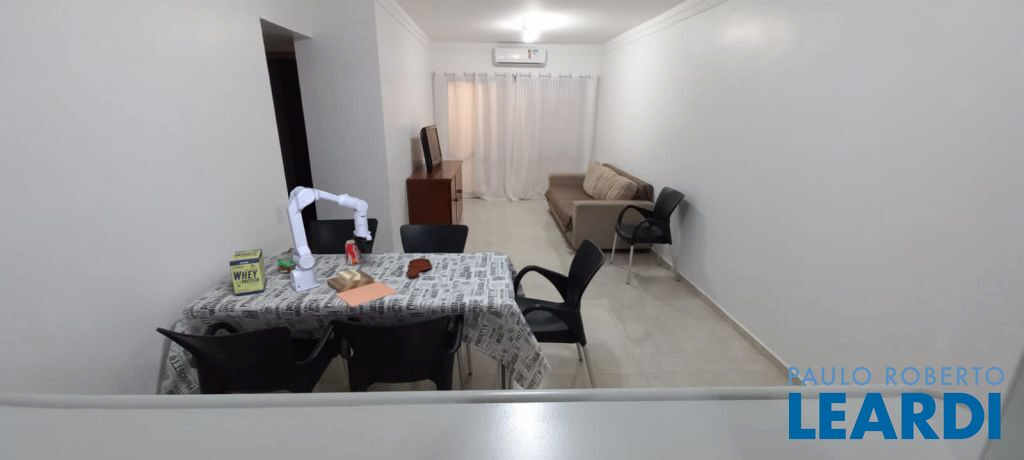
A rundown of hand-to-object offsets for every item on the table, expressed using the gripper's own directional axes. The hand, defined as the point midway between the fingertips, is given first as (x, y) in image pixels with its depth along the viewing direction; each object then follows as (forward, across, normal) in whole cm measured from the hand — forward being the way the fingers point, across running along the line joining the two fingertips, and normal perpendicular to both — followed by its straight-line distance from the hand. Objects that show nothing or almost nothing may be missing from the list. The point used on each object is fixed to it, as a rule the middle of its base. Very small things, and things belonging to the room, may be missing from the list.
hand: (363, 251), depth 199 cm
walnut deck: (+10, -11, +12) cm, 19 cm away
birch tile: (+8, -10, +12) cm, 18 cm away
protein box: (+10, +15, +45) cm, 49 cm away
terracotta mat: (+10, -26, +12) cm, 30 cm away
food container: (+10, +26, +25) cm, 38 cm away
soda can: (+10, +14, -1) cm, 17 cm away
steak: (+10, -20, -17) cm, 28 cm away
